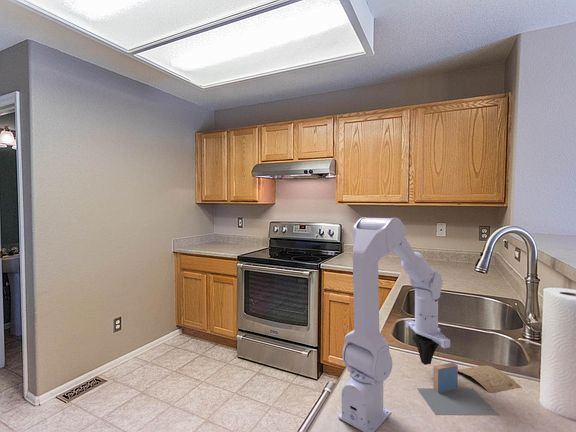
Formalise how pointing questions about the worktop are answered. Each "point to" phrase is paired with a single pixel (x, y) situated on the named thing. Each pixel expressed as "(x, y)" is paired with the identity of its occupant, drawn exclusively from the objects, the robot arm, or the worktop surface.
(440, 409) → the mat
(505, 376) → the clay tablet
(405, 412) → the worktop surface
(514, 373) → the worktop surface
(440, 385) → the tile
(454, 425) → the worktop surface
